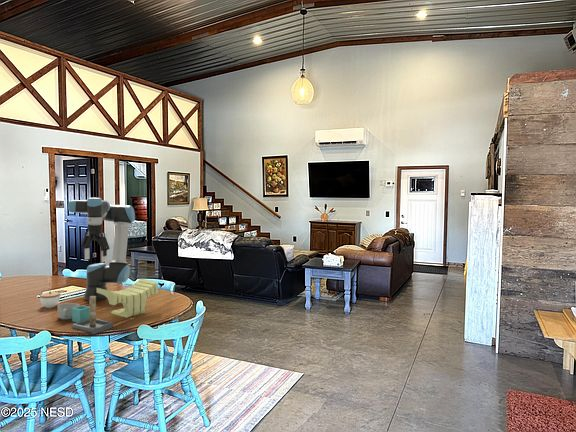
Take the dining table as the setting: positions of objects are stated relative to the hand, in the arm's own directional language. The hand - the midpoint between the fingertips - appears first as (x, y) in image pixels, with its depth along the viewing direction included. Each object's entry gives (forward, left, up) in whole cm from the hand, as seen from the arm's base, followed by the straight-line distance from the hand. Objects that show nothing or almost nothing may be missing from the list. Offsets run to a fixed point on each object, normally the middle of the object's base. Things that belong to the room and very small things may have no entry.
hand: (95, 260), depth 229 cm
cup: (+5, -13, -32) cm, 35 cm away
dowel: (+19, -17, -31) cm, 40 cm away
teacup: (-5, -14, -32) cm, 36 cm away
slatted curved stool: (+17, +9, -32) cm, 37 cm away
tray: (+19, -17, -32) cm, 41 cm away
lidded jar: (-37, -2, -32) cm, 49 cm away
